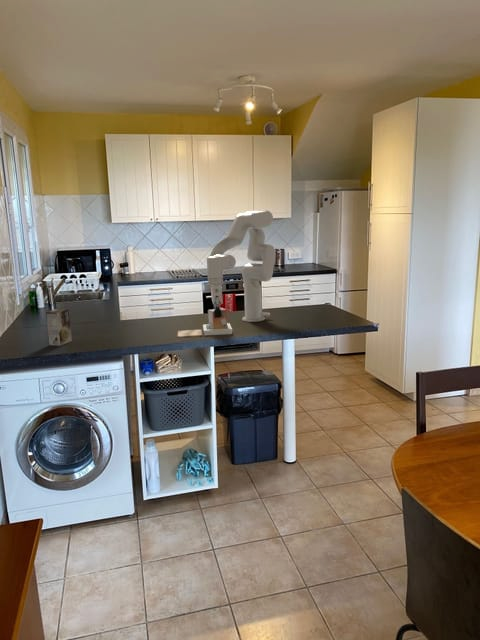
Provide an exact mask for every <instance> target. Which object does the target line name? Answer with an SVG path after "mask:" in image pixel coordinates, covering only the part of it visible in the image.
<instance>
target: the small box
mask: <svg viewBox="0 0 480 640" xmlns="http://www.w3.org/2000/svg"><path fill="white" fill-rule="evenodd" d="M220 309H221V317H220V318H215V313H214V310H215V309H208V310H207V313H208V315H207V316H208V317H207V318H208V324H209V330H212V329H227V323H228V320H227V318H228V317H227V315H228V314H227V309H225V308H223V307H220Z"/></svg>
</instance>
